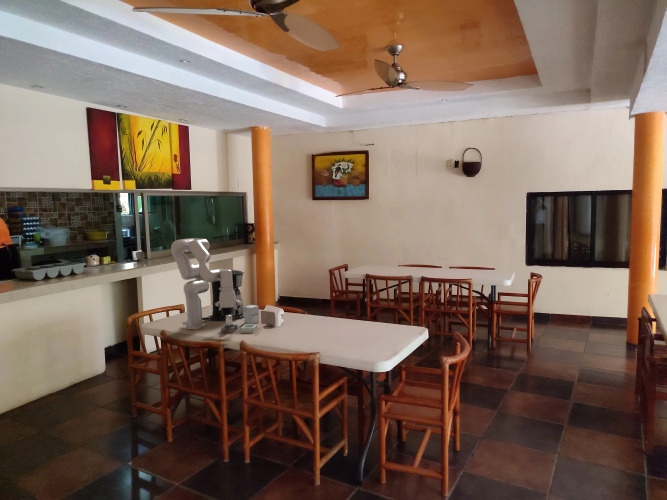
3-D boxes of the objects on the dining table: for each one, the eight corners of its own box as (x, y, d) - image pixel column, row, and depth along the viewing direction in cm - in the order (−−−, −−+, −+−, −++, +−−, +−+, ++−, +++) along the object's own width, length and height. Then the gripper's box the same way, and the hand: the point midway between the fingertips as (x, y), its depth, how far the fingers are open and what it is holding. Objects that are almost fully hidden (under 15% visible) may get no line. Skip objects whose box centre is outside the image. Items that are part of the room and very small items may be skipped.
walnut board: (216, 336, 293) (216, 329, 292) (224, 329, 307) (224, 323, 306) (255, 336, 290) (255, 329, 289) (261, 329, 303) (261, 323, 303)
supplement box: (251, 326, 312) (250, 308, 311) (244, 325, 317) (243, 306, 315) (259, 324, 318) (258, 305, 317) (252, 322, 323) (251, 304, 321)
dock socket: (241, 332, 294) (240, 327, 293) (245, 329, 301) (244, 324, 301) (253, 332, 293) (253, 327, 292) (257, 329, 300) (257, 324, 300)
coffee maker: (251, 316, 340) (248, 270, 336) (210, 325, 319) (206, 276, 315) (235, 311, 357) (232, 267, 353) (195, 319, 336) (192, 273, 332)
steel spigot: (225, 331, 297) (224, 316, 296) (227, 329, 301) (226, 314, 300) (231, 331, 296) (230, 316, 295) (233, 329, 300) (232, 314, 299)
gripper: (211, 290, 293) (214, 317, 295) (238, 289, 291) (240, 316, 292) (216, 288, 300) (218, 314, 302) (242, 287, 298) (244, 314, 300)
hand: (229, 315), depth 297 cm, fingers open, 9 cm apart
